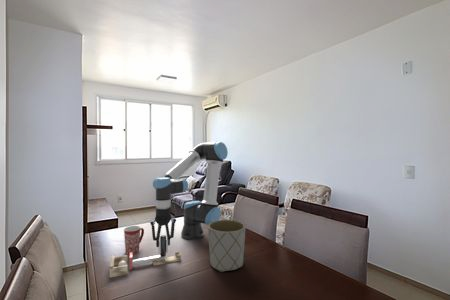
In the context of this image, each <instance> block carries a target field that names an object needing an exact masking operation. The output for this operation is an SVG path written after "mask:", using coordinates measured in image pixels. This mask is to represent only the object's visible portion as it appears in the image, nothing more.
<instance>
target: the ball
mask: <svg viewBox="0 0 450 300" xmlns="http://www.w3.org/2000/svg"><path fill="white" fill-rule="evenodd" d="M124 265H127V266H128V261H127V262H126V261H121V262H119V264H118V265H117V267H118V266H124Z"/></svg>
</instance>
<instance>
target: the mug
mask: <svg viewBox="0 0 450 300" xmlns="http://www.w3.org/2000/svg"><path fill="white" fill-rule="evenodd" d="M123 233H124V234H123V236H124V249H125V250H124V251H125V255H130V253H131V252H132V255H135V254H137V253H138V252H140V244H141V242H142V240H143V237H144V235H145V229H144V228H143V227H141V226H140V225H129V226H126V227H125V228H124V229H123Z"/></svg>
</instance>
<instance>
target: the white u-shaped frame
mask: <svg viewBox="0 0 450 300" xmlns="http://www.w3.org/2000/svg"><path fill="white" fill-rule="evenodd" d="M166 238H167V235H160V238H159V239H160V241H161V254H158V255H156V256H155V255H152V256H148V257H142V258H136V259H133V254H132V252H131V253H130V254H129V271H133V267H134V266H138V265H143V264H149V263H152V262H153V259H156V258H157V261H161V260H165V257H166V256H167V253H166Z"/></svg>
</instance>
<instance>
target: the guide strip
mask: <svg viewBox="0 0 450 300" xmlns="http://www.w3.org/2000/svg"><path fill="white" fill-rule="evenodd" d="M154 256H157V255H154ZM181 256H182V255H181V253H180V251H175V255H172V256H167V257H166V256H165V260H161V261H157V258H156V259H153V262H151V263H152V266H159V265H164V264H169V263H173V262H180V261H181V260H182V257H181Z"/></svg>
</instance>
